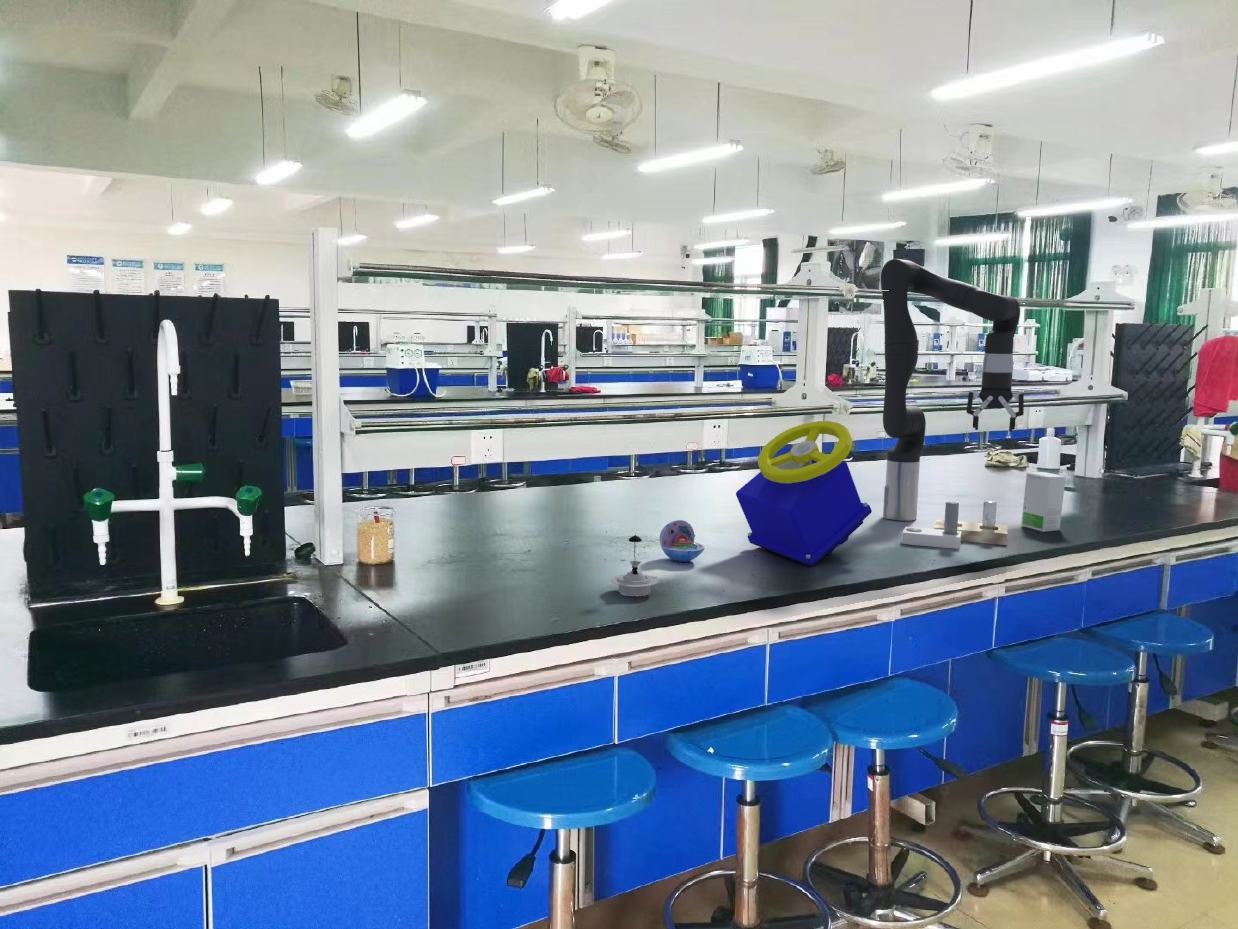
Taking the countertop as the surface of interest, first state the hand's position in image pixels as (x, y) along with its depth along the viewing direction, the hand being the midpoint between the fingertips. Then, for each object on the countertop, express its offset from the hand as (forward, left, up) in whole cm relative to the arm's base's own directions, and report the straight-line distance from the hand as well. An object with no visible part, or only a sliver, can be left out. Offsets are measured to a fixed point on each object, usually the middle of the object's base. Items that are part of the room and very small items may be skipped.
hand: (993, 430), depth 245 cm
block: (-13, -21, -28) cm, 37 cm away
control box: (-40, -50, -28) cm, 70 cm away
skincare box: (+14, +12, -28) cm, 34 cm away
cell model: (-66, -66, -28) cm, 98 cm away
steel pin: (0, -9, -28) cm, 30 cm away
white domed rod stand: (-66, -96, -28) cm, 120 cm away
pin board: (-4, -9, -28) cm, 30 cm away
